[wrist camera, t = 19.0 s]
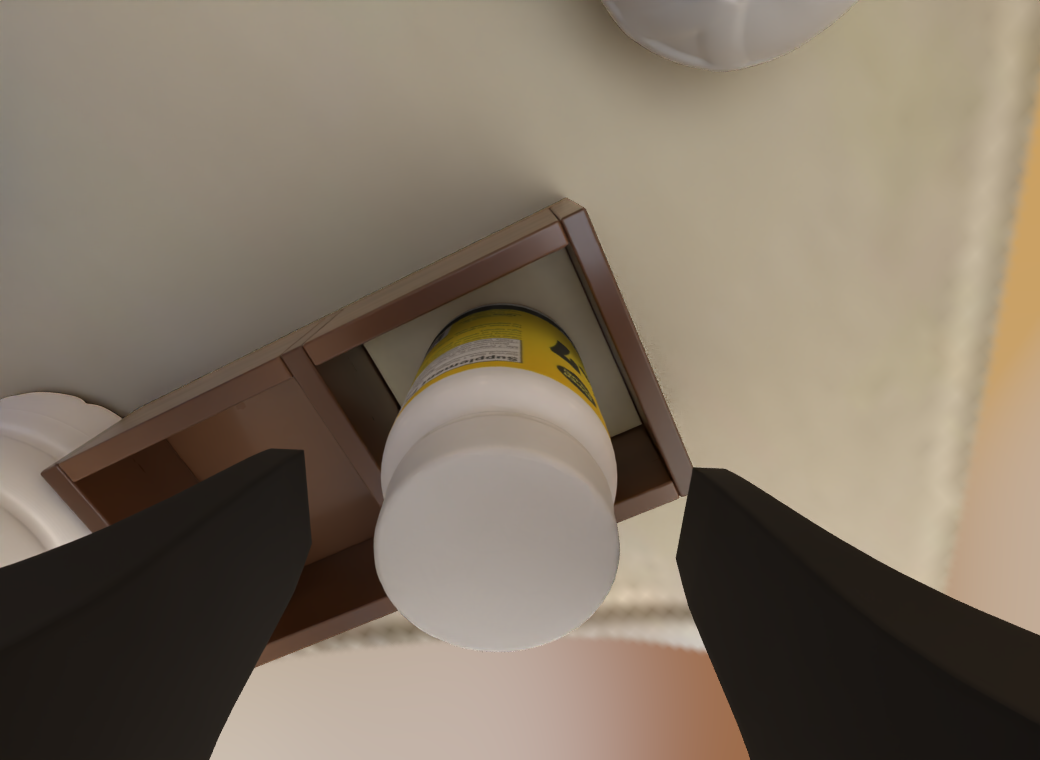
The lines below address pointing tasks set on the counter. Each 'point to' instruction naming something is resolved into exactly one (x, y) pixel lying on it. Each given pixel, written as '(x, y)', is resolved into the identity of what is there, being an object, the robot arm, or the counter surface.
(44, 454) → the water bottle
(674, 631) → the counter surface
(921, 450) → the counter surface
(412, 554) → the supplement bottle
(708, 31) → the figurine
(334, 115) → the counter surface
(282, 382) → the crate
